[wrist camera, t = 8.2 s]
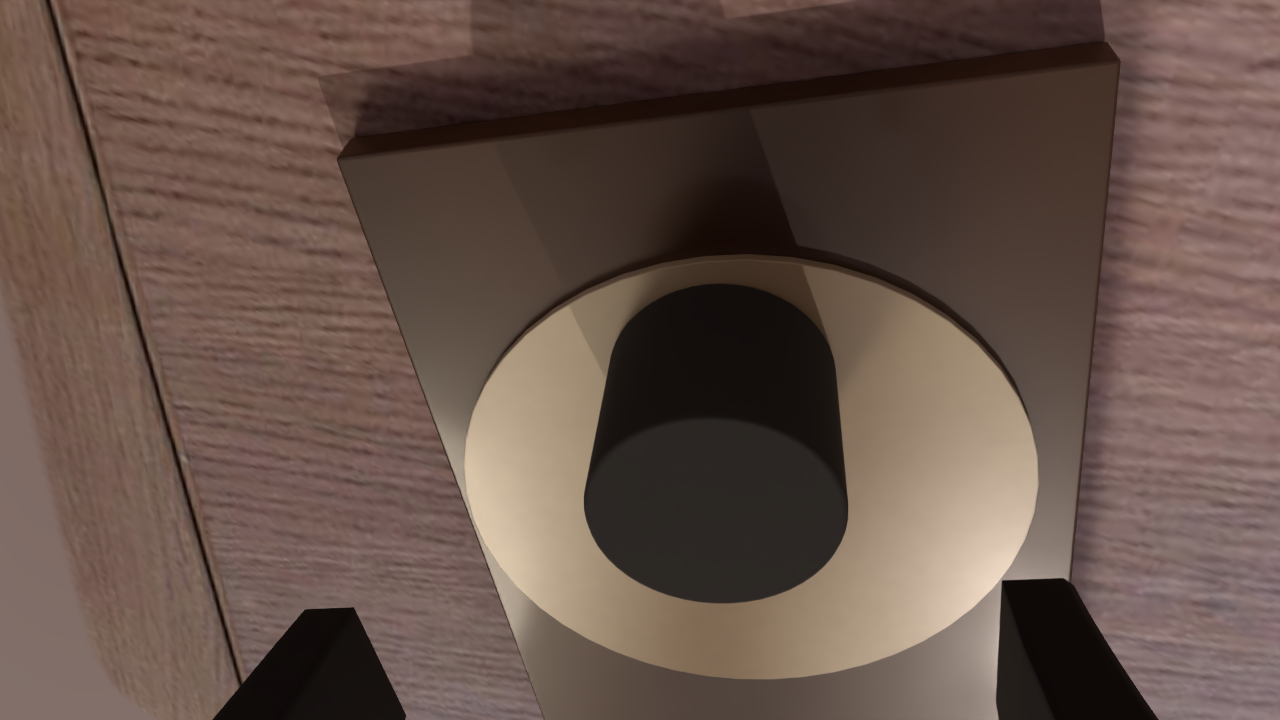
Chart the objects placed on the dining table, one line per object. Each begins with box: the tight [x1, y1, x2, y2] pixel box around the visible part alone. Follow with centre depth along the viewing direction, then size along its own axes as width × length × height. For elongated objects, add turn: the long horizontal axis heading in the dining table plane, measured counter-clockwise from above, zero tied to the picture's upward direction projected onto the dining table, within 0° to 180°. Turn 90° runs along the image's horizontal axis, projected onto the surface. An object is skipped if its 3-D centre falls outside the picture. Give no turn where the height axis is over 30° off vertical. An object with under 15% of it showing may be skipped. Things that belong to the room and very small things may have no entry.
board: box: [337, 42, 1121, 720], centre depth 21 cm, size 12×16×1 cm
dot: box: [584, 284, 848, 604], centre depth 17 cm, size 4×4×4 cm
